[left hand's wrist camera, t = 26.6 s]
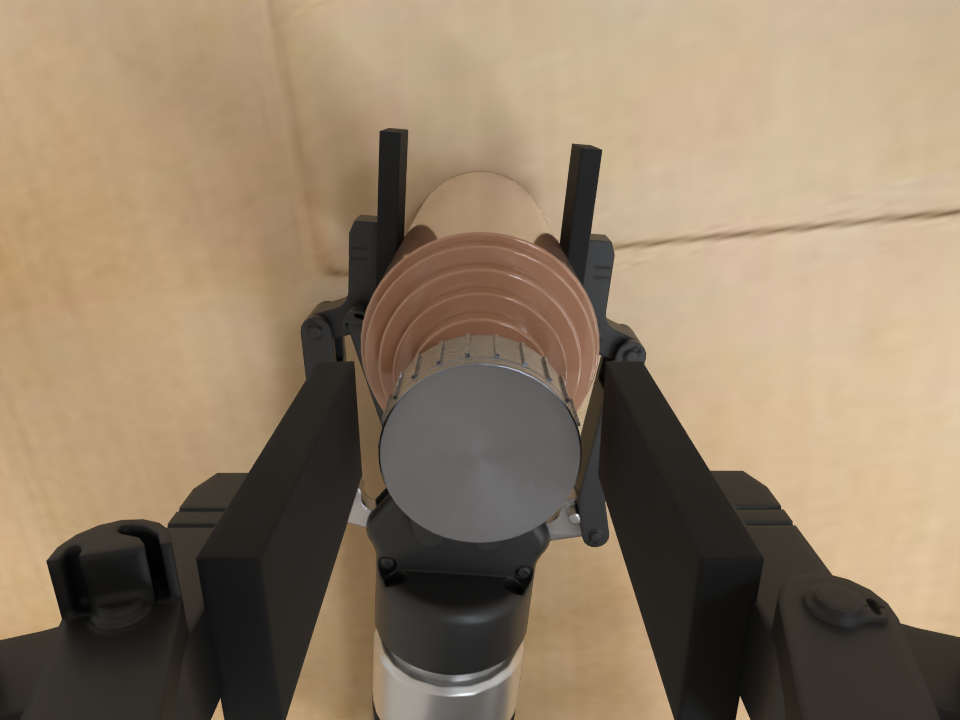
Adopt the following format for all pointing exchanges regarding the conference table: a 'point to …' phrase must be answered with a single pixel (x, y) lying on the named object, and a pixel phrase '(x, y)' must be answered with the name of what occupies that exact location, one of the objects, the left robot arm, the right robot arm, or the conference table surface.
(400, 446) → the cap
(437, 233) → the bottle
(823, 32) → the conference table surface
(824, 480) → the conference table surface
